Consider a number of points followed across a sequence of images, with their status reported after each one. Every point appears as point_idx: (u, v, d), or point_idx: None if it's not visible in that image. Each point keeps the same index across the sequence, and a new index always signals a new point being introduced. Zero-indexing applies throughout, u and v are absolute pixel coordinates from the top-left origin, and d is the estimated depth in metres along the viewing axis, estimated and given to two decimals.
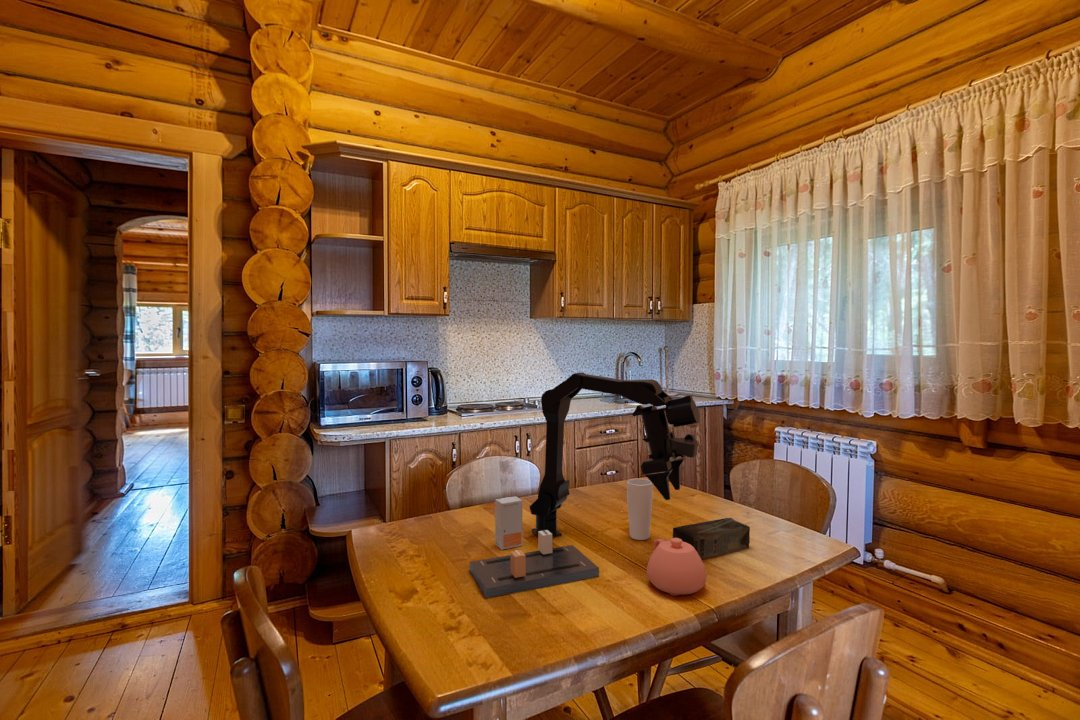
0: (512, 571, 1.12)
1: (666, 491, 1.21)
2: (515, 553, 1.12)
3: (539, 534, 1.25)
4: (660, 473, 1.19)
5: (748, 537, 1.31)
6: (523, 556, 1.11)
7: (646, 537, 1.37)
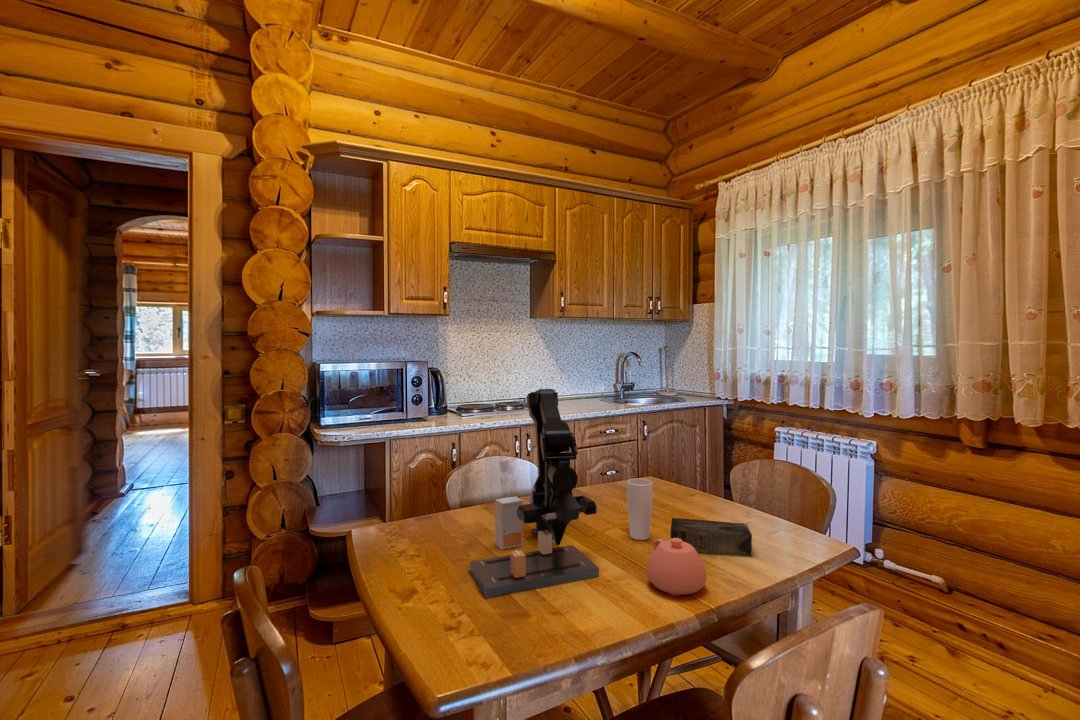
0: (512, 571, 1.12)
1: (554, 536, 1.25)
2: (515, 553, 1.12)
3: (539, 534, 1.25)
4: (544, 519, 1.23)
5: (749, 545, 1.26)
6: (523, 556, 1.11)
7: (646, 537, 1.37)
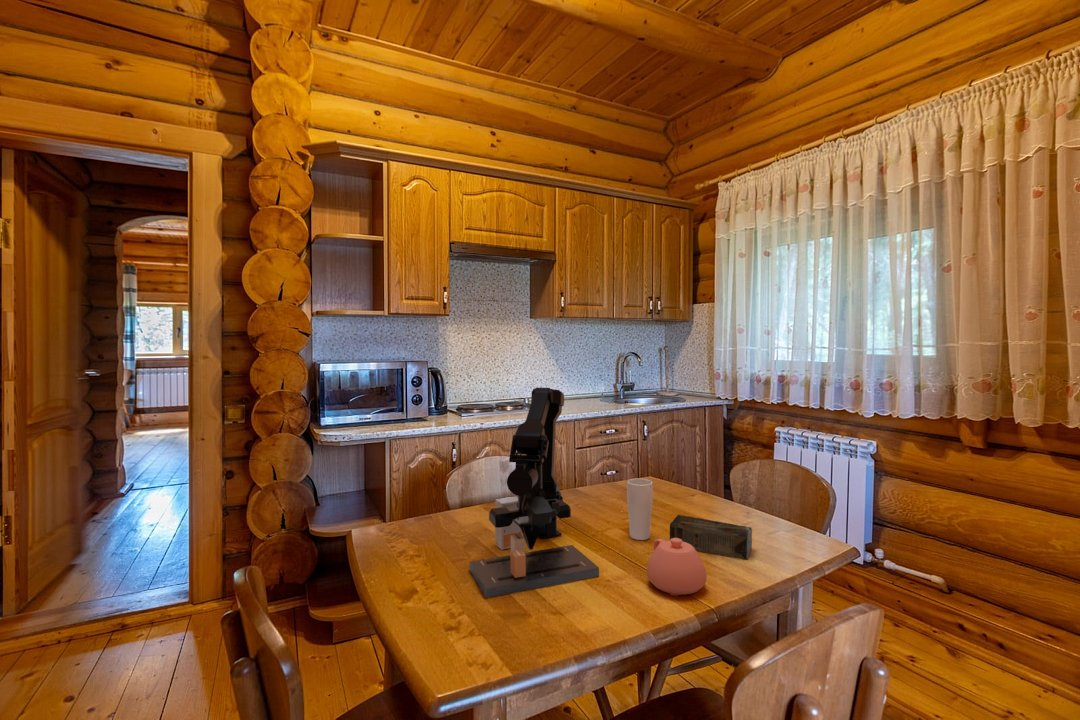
0: (512, 571, 1.12)
1: (527, 541, 1.22)
2: (515, 553, 1.12)
3: (511, 538, 1.22)
4: (517, 523, 1.21)
5: (744, 547, 1.25)
6: (523, 556, 1.11)
7: (646, 537, 1.37)
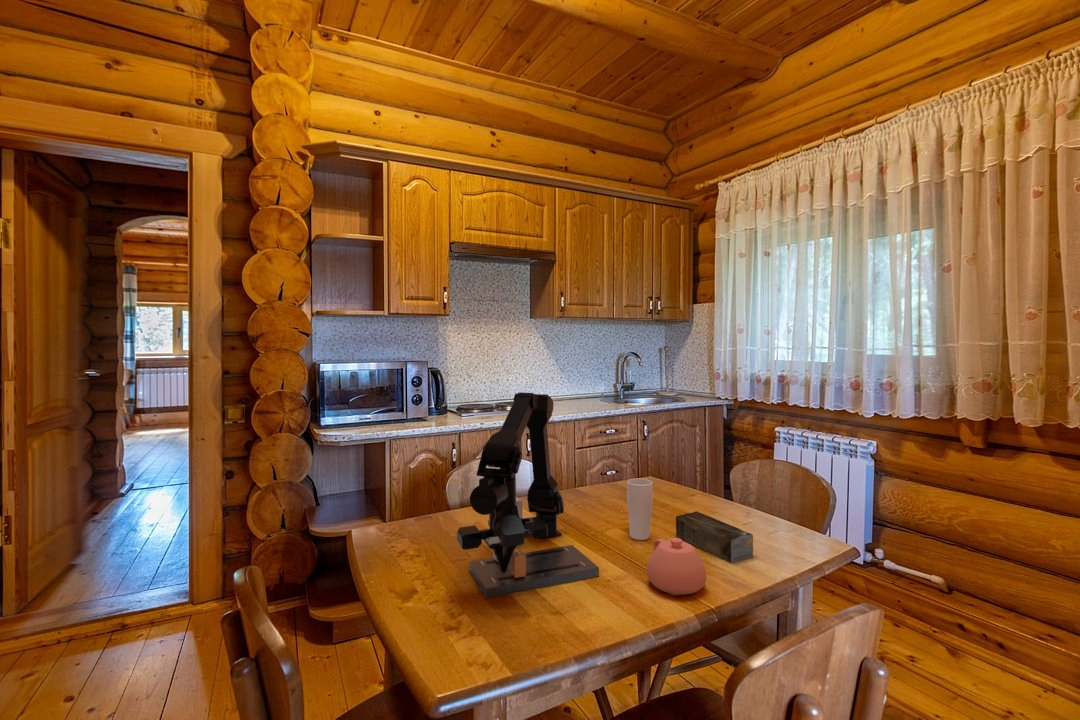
0: (512, 571, 1.12)
1: (499, 563, 1.11)
2: (515, 553, 1.12)
3: None
4: (487, 544, 1.09)
5: (728, 550, 1.23)
6: (523, 556, 1.11)
7: (646, 537, 1.37)
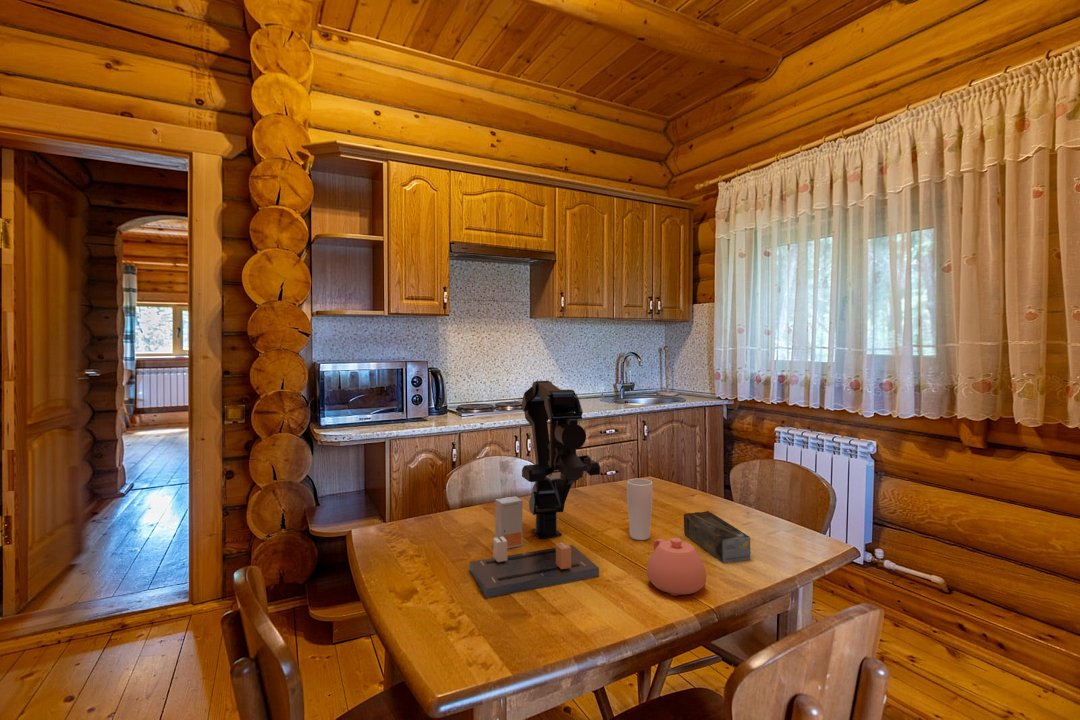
0: (558, 563, 1.16)
1: (558, 497, 1.27)
2: (561, 546, 1.16)
3: (494, 541, 1.21)
4: (549, 479, 1.25)
5: (720, 550, 1.23)
6: (569, 548, 1.15)
7: (646, 537, 1.37)
